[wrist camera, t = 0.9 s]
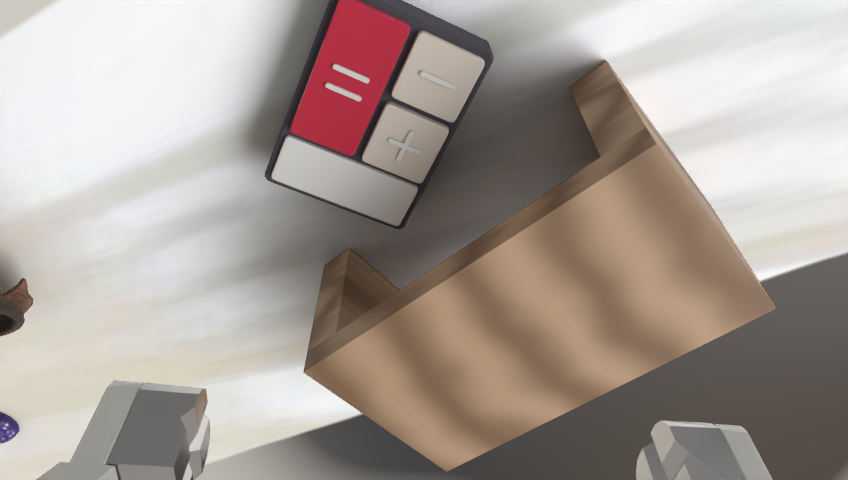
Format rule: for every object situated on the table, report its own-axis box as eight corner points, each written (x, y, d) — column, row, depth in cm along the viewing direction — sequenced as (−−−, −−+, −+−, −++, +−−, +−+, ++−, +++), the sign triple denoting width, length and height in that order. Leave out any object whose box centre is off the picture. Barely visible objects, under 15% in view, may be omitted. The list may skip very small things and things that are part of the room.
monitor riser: (606, 60, 44) (656, 143, 35) (711, 206, 52) (776, 308, 42) (324, 265, 55) (303, 372, 46) (443, 362, 63) (446, 471, 53)
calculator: (497, 59, 41) (401, 237, 49) (490, 39, 45) (402, 207, 52) (335, -17, 38) (260, 184, 46) (341, -33, 42) (271, 157, 49)
